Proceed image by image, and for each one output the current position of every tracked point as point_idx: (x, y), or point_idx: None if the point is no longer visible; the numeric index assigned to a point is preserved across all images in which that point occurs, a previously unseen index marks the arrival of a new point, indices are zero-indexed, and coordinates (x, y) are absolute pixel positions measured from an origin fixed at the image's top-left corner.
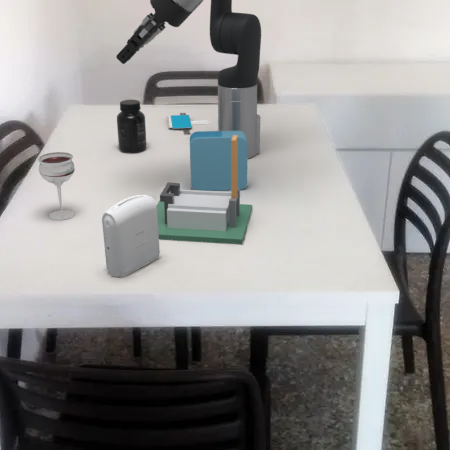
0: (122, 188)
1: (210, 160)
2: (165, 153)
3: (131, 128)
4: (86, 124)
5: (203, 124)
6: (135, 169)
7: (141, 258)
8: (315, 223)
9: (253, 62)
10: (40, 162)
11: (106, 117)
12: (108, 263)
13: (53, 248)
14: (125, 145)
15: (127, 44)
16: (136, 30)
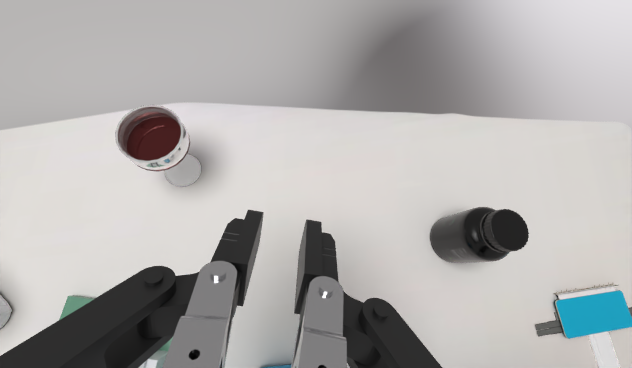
0: (278, 243)
1: None
2: (436, 298)
3: (454, 238)
4: (550, 153)
5: (595, 359)
6: (359, 254)
7: None
8: None
9: None
10: (132, 111)
11: (589, 179)
12: None
13: (67, 175)
14: (436, 229)
15: (227, 262)
16: (171, 344)
